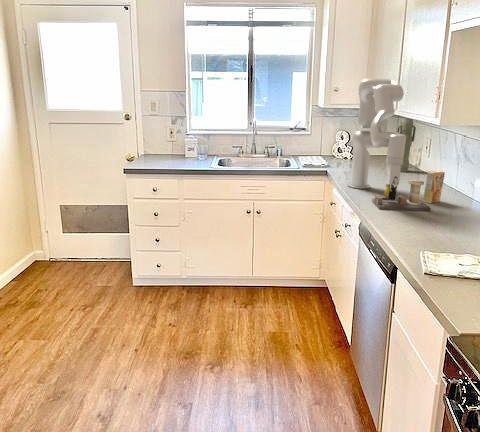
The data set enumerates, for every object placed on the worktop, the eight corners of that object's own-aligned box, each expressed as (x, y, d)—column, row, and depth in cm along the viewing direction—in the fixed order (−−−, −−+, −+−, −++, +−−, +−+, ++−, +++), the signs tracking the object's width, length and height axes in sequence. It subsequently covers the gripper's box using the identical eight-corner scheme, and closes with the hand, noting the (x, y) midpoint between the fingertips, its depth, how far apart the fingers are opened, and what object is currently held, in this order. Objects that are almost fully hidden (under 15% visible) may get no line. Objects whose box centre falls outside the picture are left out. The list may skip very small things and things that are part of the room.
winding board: (372, 201, 229) (373, 192, 228) (420, 203, 229) (421, 194, 227) (379, 209, 216) (380, 200, 215) (430, 211, 215) (431, 201, 214)
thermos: (389, 169, 312) (395, 117, 301) (405, 169, 313) (412, 117, 303) (395, 172, 303) (402, 118, 293) (412, 172, 305) (419, 119, 295)
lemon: (397, 200, 221) (400, 184, 219) (390, 202, 218) (392, 185, 216) (388, 198, 225) (390, 182, 223) (381, 199, 222) (383, 183, 220)
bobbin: (403, 201, 225) (406, 179, 222) (418, 202, 225) (421, 180, 222) (408, 205, 218) (411, 182, 215) (422, 205, 218) (426, 183, 215)
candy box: (433, 199, 236) (437, 170, 232) (440, 201, 233) (445, 172, 228) (422, 201, 232) (426, 172, 227) (429, 203, 228) (434, 173, 224)
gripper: (381, 157, 224) (377, 192, 230) (391, 163, 208) (386, 201, 213) (397, 157, 224) (392, 193, 229) (408, 164, 208) (402, 202, 213)
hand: (389, 197), depth 221 cm, fingers closed on lemon, 5 cm apart
